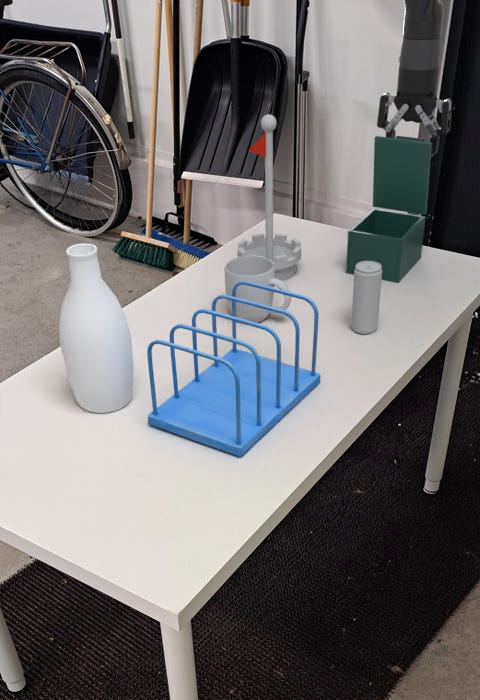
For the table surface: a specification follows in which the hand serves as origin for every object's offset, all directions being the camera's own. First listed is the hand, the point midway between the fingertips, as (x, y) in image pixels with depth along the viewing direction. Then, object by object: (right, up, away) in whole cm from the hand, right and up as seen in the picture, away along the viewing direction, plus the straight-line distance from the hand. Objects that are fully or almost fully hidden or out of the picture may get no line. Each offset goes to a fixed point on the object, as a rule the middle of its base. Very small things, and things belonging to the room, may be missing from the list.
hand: (410, 153), depth 171 cm
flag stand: (-28, -22, +5) cm, 36 cm away
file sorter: (-35, -55, -33) cm, 73 cm away
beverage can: (-12, -39, -15) cm, 43 cm away
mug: (-31, -36, -10) cm, 48 cm away
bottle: (-57, -54, -31) cm, 84 cm away
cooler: (-4, -21, +6) cm, 22 cm away
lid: (-2, -5, -1) cm, 6 cm away
